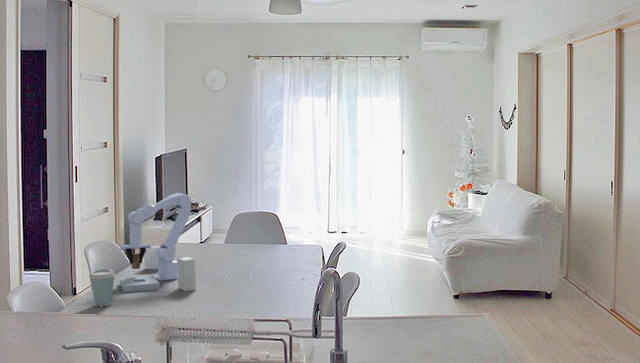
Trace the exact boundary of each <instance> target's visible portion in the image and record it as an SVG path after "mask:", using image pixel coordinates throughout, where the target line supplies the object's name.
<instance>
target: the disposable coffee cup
mask: <svg viewBox="0 0 640 363" xmlns="http://www.w3.org/2000/svg"><path fill="white" fill-rule="evenodd" d="M89 280H90V284H91V285H90V286H91V290H92V296H93V300H94V305H95V307H97V306H100V307H99V308H104V307H103V306H106V307H109V306H111V305H112V299H113V290H114V280H115V272H114V270H113V269H110V268H98V269H95V270H94V269H93V271H90V274H89Z"/></svg>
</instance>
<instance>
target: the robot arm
mask: <svg viewBox="0 0 640 363" xmlns="http://www.w3.org/2000/svg"><path fill="white" fill-rule="evenodd" d="M171 205H173V206H175V207H176V210H177V211H178V214H177V216H176V218H175V221H174V223H173V225H172V227H171V229H170V231H169V232H168V234H167V237H166V239H165V240H164V241H163V242H162V243H161V244H160V246H159V248H158V249H157V251H156V255H157V257H158V269H157V276H156V277H155V278H156V280H157V281H168V280H169V281H170V280H178V261H177V260H174V259H175V256H176V251H177V246H176V245H177V242H178V241H179V238H180V237H181V235H182V232H183V231H184V228H185V226H186V224H187V222H188V220H189V218H190V216H191V212H192V211H191V208H192V206H191V205H192V198H191V197H190V195H189V194H186V193H181V192H175V193H173V194H170V195H168V196H167V197H165V198H163V199H162V200H160V201H158V202H156V203H155V204H150V203H147V204H145V205H144V206H143V207H141V208H137V209H136V211H135V210H134V211H131V212H130V213H129V214H128V215H127V217H126V218H127V220H128V222H129V244H123V245H122V244H121V245H120V247H119V250H120V251H124V250H125V251H126V255H127V256H128V259H129V265H132V254H133V251H132V250H138V249H139V253H140V265H141V264H143V259H144V257H145V252H146V248H151V246H152V244H151V243H142V242H143V241H142V240H143V239H142V238H143V236H142V235H143V234H142V233H143V231H142V229H143V228H142V226H143V225H142V223H143V222H144V221H145V220H147V219H148V218H151V217H152V216H153V217H154V216H155V215H156V213H157V211H159V210H162V209H164V208H166V207H168V206H171Z"/></svg>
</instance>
